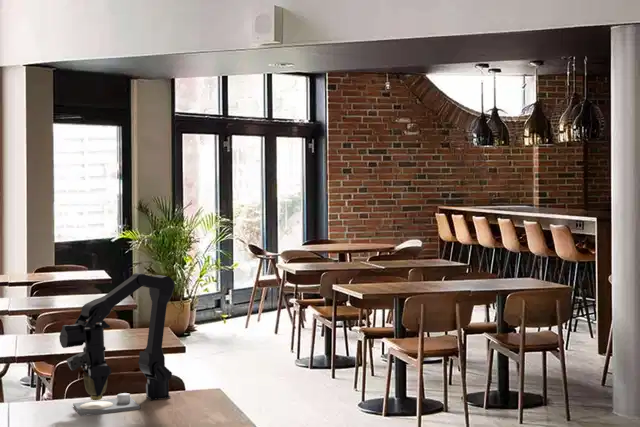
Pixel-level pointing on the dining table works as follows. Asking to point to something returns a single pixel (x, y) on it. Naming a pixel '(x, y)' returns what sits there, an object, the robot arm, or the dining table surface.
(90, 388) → the cup
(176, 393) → the dining table surface
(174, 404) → the dining table surface
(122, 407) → the carrier plate
